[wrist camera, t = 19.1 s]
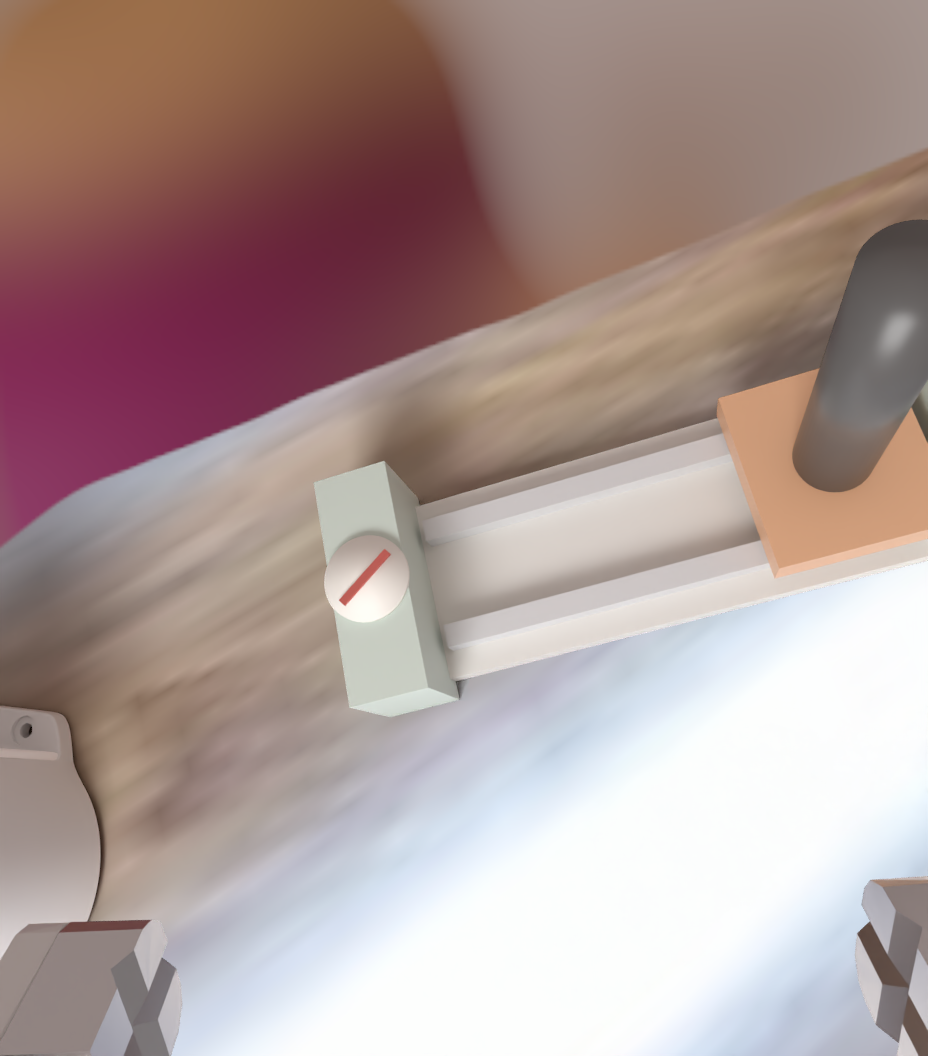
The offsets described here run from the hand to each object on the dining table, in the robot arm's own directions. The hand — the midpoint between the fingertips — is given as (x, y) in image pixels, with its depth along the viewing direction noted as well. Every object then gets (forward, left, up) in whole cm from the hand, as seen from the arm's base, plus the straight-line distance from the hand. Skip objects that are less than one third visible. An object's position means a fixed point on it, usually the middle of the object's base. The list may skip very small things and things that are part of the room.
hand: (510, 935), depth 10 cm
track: (-2, +15, -33) cm, 37 cm away
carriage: (+5, +19, -31) cm, 36 cm away
